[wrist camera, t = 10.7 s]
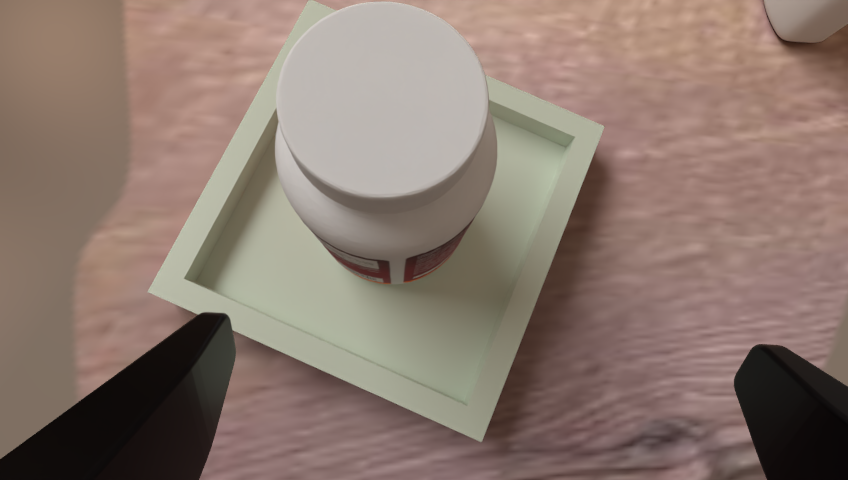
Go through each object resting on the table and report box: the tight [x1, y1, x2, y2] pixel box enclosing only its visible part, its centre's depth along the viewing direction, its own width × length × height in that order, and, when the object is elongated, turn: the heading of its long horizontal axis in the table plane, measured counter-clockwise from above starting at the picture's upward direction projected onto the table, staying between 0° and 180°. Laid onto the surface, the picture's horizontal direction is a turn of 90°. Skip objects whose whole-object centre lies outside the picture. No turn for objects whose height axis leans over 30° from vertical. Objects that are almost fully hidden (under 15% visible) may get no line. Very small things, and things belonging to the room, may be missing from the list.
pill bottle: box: [275, 2, 497, 284], centre depth 16 cm, size 6×6×11 cm
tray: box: [148, 0, 605, 442], centre depth 21 cm, size 14×14×2 cm
